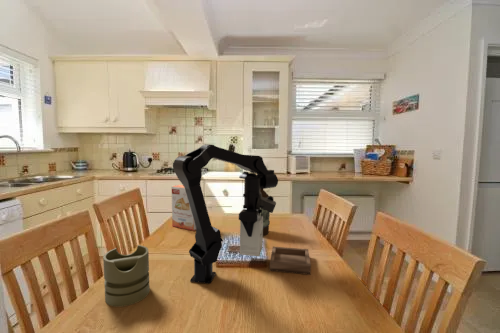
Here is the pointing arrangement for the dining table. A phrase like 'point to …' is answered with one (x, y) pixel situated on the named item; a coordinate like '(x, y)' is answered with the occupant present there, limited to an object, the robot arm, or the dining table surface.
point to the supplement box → (252, 239)
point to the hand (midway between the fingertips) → (251, 232)
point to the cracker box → (181, 209)
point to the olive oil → (265, 215)
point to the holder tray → (290, 260)
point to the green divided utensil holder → (126, 277)
